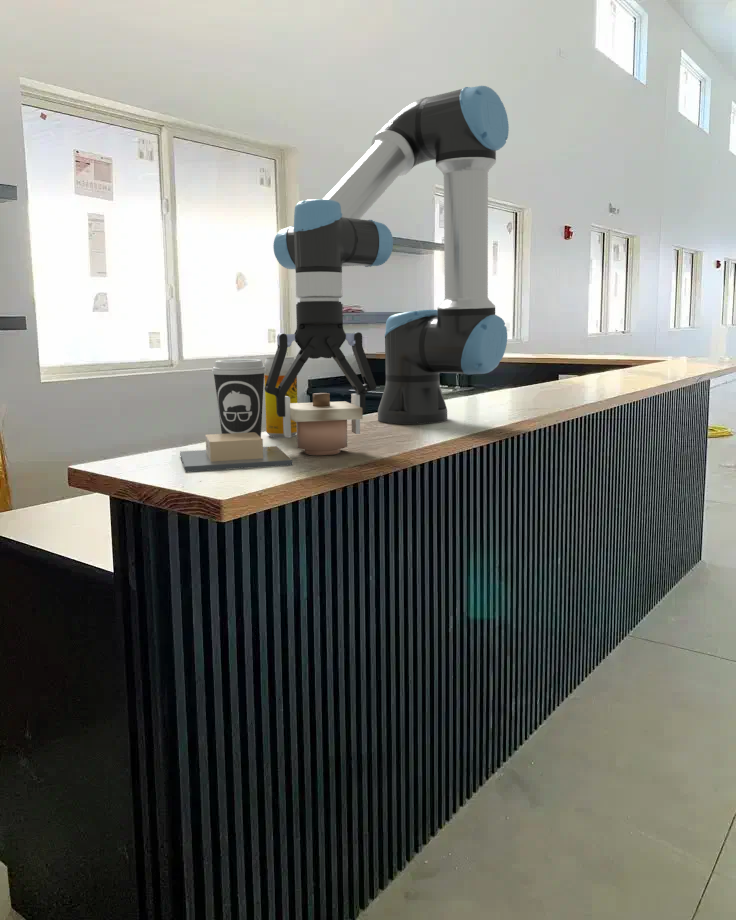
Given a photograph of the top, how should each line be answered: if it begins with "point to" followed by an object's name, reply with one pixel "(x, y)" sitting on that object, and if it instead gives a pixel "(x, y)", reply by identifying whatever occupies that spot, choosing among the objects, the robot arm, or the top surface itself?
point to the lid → (324, 410)
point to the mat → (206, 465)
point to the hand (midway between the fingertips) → (322, 434)
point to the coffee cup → (239, 394)
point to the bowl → (322, 436)
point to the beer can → (272, 419)
